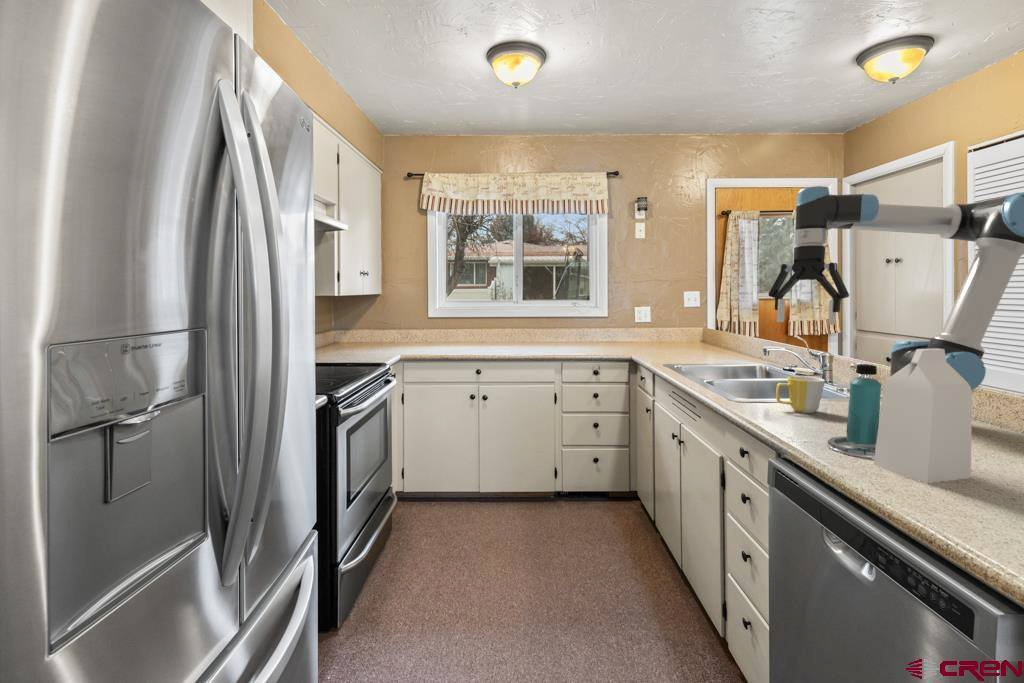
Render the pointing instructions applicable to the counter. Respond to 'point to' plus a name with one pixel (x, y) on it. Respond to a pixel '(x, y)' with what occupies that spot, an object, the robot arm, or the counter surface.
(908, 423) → the milk
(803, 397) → the mug
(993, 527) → the counter surface
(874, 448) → the grey round plate
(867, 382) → the beverage bottle
